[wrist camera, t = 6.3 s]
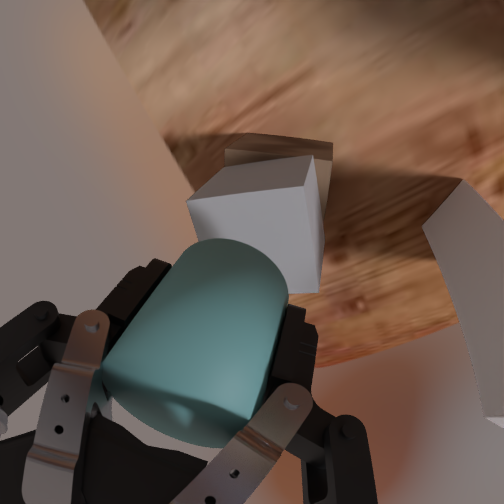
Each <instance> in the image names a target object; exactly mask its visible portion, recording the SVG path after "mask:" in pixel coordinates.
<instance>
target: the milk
mask: <svg viewBox="0 0 504 504" xmlns="http://www.w3.org/2000/svg"><path fill="white" fill-rule="evenodd" d="M422 229H423V231H424V233H425V235H426V238H427V240H428V242H429V244H430V247H431V249H432V251H433V253H434V256H435V258H436V260H437V263H438V265H439V268H440V270H441V273H442V275H443V278H444V280H445V283H446V285H447V288H448V291H449V293H450V296H451V299H452V302H453V304H454V307H455V310H456V313H457V316H458V319H459V322H460V325H461V328H462V331H463V335H464V338H465V341H466V344H467V348H468V352H469V355H470V359H471V362H472V366H473V370H474V374H475V378H476V382H477V387H478V391H479V395H480V400H481V405H482V410H483V415H484V417H485V418H486V419H488V420H490V421H491V422H493V423H495V424H497V425H499V426H500V427H502V428H504V220H503V219H502V218H501V217H500V216H499V215H498V214H497V212H496V211H495V210H494V209H493V208H492V207H491V206H490V205H489V204H488V203H487V202H486V201H485V200H484V199H483V198H482V197H481V196H480V194H479V193H478V192H477V191H476V190H475V189H474V188H473V187H472V186H471V185H470V184H469V183H467V182H466V181H465V180H464V179H463V180H462V181H461V182H460V184H459V185H458V186H457V187H456V188H455V190H454V191H453V192H452V193H451V194H450V195H449V196H448V198H447V199H446V200H445V201H444V202H443V203H442V204H441V205H440V207H439V208H438V209H437V210H436V211H435V212H434V213H433V214H432V215H431V217H430V218H429V219H428V220H427V221H426V222H425V223H424V224H423V225H422Z"/></svg>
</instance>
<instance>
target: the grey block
mask: <svg viewBox="0 0 504 504" xmlns="http://www.w3.org/2000/svg"><path fill="white" fill-rule="evenodd" d="M186 203H187V206H188V209H189V212H190V215H191V219H192V222H193V225H194V228H195V231H196V234H197V238H198V241H199V242H200V241H203V240H207V239H214V238H225V239H232V240H236V241H240V242H243V243H245V244H248V245H250V246H252V247H254V248H256V249H258V250H259V251H261V252H262V253H264V254H265V255H266V256H267V257H268V258H270V259H271V260H272V261H273V262H274V263H275V264H276V266H277V267H278V268H279V270H280V271H281V273H282V275H283V276H284V278H285V281H286V283H287V287H288V294H293V293H319V287H320V279H321V271H322V262H323V253H324V243H325V236H324V228H323V220H322V212H321V205H320V198H319V191H318V184H317V177H316V171H315V165H314V159H313V155H307V156H298V157H290V158H282V159H274V160H267V161H260V162H253V163H247V164H240V165H234V166H228V167H223V168H222V169H221V170H220V171H219V172H218V173H216V174H215V175H214V176H213V177H212V178H211V179H210V180H209V181H207V182H206V183H205V184H204V185H203V186H202V187H201V188H200V189H199V190H197V191H196V192H195V193H194V194H193V195H192V196H191V197H190V198H189V199H188V200H187V201H186Z"/></svg>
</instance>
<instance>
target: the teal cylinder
mask: <svg viewBox="0 0 504 504" xmlns="http://www.w3.org/2000/svg"><path fill="white" fill-rule="evenodd" d="M288 299H289V294H288V287H287V283H286V281H285V278H284V276H283V275H282V273H281V271H280V270H279V268H278V267H277V266H276V264H275V263H274V262H273V261H272V260H271V259H270V258H268V257H267V256H266V255H265V254H264V253H262V252H261V251H259V250H258V249H256V248H254V247H252V246H250V245H248V244H245V243H243V242H240V241H236V240H232V239H225V238H214V239H207V240H203V241H200V242H197V243H195V244H193V245H192V246H190V247H189V248H187V249H186V250H185V251H184V252H183V254H182V255H181V256H180V258H179V259H178V260H177V261H176V263H175V264H174V265H173V266H172V268H171V269H170V270H169V272H168V273H167V274H166V276H165V277H164V278H163V280H162V281H161V282H160V284H159V285H158V286H157V287H156V289H155V290H154V292H153V293H152V294H151V296H150V297H149V298H148V300H147V301H146V302H145V304H144V305H143V306H142V308H141V309H140V310H139V312H138V313H137V315H136V316H135V317H134V319H133V320H132V321H131V323H130V324H129V326H128V327H127V328H126V330H125V331H124V333H123V334H122V335H121V337H120V338H119V340H118V341H117V342H116V344H115V345H114V347H113V348H112V350H111V351H110V352H109V354H108V355H107V357H106V358H105V360H104V361H103V363H102V364H103V368H104V369H103V374H102V381H103V383H104V385H105V387H106V389H107V390H108V391H110V392H111V394H112V396H113V398H114V399H115V400H116V401H117V402H118V403H119V404H120V405H121V406H122V407H123V408H124V409H126V410H127V411H128V412H129V413H131V414H132V415H133V416H134V417H136V418H137V419H139V420H140V421H142V422H143V423H145V424H146V425H148V426H150V427H152V428H154V429H155V430H157V431H159V432H161V433H163V434H165V435H168V436H170V437H173V438H175V439H178V440H181V441H184V442H187V443H190V444H194V445H198V446H203V447H210V448H224V447H225V446H226V445H227V444H228V442H229V441H230V440H231V439H232V438H233V437H234V436H235V435H236V434H237V433H238V432H239V431H240V430H241V429H243V428H244V427H245V426H246V425H247V424H248V423H249V421H250V420H251V419H252V418H253V417H254V415H255V414H256V413H257V412H258V411H259V409H260V408H261V406H262V403H263V399H264V395H265V392H266V386H267V382H268V378H269V375H270V371H271V367H272V363H273V360H274V356H275V352H276V348H277V344H278V340H279V336H280V332H281V328H282V324H283V320H284V316H285V312H286V309H287V305H288Z"/></svg>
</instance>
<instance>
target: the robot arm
mask: <svg viewBox="0 0 504 504" xmlns="http://www.w3.org/2000/svg"><path fill="white" fill-rule="evenodd" d="M171 268H172V265H171V264H170V263H167V262H164V261H161V260H158V259H156V258H155V259H153V260H152V261H151V262H150V263H149V264H148V265H147V267H146V268H145V267H142V266H139V267H136V268H134V269H132V270H131V271H129V272H128V273H127V274H126V275H125V277H124V278H123V279H122V280H121V281H120V282H119V283H118V284H117V287H115V288H114V289H113V290H112V291H111V293H110V294H109V295H108V296H107V297H106V298H105V299H104V301H103V302H102V303H101V304H100V305H99V306H98V308H97V309H96V310H87V311H84V312H82V313H81V314H79V315H78V316H70V315H65V314H59V313H58V311H57V308H56V306H55V305H54V304H53V303H51V302H49V301H40V302H36V303H34V304H33V305H31V306H30V307H28V308H27V309H25V310H24V311H23V312H21V313H20V314H19V315H17V316H16V317H14V318H13V319H12V320H10V321H9V322H7V323H6V324H4V325H3V326H2V327H0V436H1V434H4V433H6V431H7V429H8V428H7V422H8V416H9V415H10V414H11V413H12V412H14V411H15V410H16V409H17V408H18V407H19V406H21V405H22V404H23V403H24V402H25V401H26V400H27V399H29V398H30V397H31V396H32V395H33V394H34V393H36V392H37V391H38V390H39V389H40V388H41V387H42V386H44V385H45V384H46V383H47V382H48V385H47V388H46V392H45V395H44V399H43V403H42V407H41V411H40V416H39V420H38V424H37V429H36V430H33V431H30V432H27V433H24V434H21V435H18V436H15V437H11V438H8V439H5V440H2V441H0V504H243V503H245V501H246V500H247V499H248V498H249V497H250V495H251V494H252V493H253V492H254V490H255V489H256V488H257V487H258V485H259V484H260V483H261V482H262V480H263V479H264V478H265V477H266V475H267V474H268V473H269V471H270V470H271V469H272V467H273V466H274V465H275V463H276V462H277V460H278V459H279V458H280V456H281V453H282V452H283V450H284V449H285V450H286V451H288V452H290V453H291V454H293V455H295V456H297V457H298V458H300V459H301V469H302V486H303V503H304V504H378V502H377V494H376V487H375V480H374V474H373V468H372V461H371V455H370V451H369V444H368V439H367V433H366V429H365V427H364V425H363V423H362V422H361V421H360V420H359V419H357V418H356V417H354V416H351V415H340V416H338V417H335V416H333V415H331V414H329V413H328V412H326V411H324V410H323V409H321V408H320V407H319V406H318V405H317V404H316V403H315V401H314V400H313V398H312V394H311V385H312V378H313V372H314V365H315V358H316V357H315V356H316V350H317V349H316V348H317V343H318V334H317V331H316V328H315V325H312V324H309V323H305V322H304V320H305V314H306V309H304V308H301V307H298V306H295V305H291V304H288V306H287V309H286V312H285V316H284V320H283V324H282V328H281V332H280V336H279V340H278V344H277V348H276V352H275V356H274V360H273V363H272V367H271V371H270V375H269V378H268V382H267V386H266V392H265V395H264V399H263V403H262V406H261V408H260V409H259V411H258V412H257V413H256V414H255V415H254V417H253V418H252V419H251V420H250V421H249V423H248V424H247V425H246V426H245V427H244V428H243V429H241V430H240V431H239V432H238V433H237V434H236V435H235V436H234V437H233V438H232V439H231V440H230V441H229V442H228V444H227V445H226V446H225V447H224V448H223V449H222V450H221V451H220V452H219V454H218V455H217V456H216V457H215V458H214V459H213V460H212V461H211V462H210V463H209V464H208V465H207V463H208V461H205V460H202V459H199V458H196V457H194V456H191V455H188V454H186V453H183V452H180V451H176V450H169V449H163V448H158V447H152V446H148V445H146V444H144V443H143V442H141V441H140V440H139V439H138V438H136V437H135V436H134V435H132V434H131V433H130V432H129V431H128V430H126V429H125V428H124V427H123V426H121V425H119V424H117V423H115V422H113V421H112V411H111V410H112V407H111V406H112V398H113V396H112V394H111V392H110V391H108V390H107V389H106V387H105V385H104V383H103V381H102V374H103V369H104V368H103V364H102V363H103V361H104V360H105V358H106V357H107V355H108V354H109V352H110V351H111V350H112V348H113V347H114V345H115V344H116V342H117V341H118V340H119V338H120V337H121V335H122V334H123V333H124V331H125V330H126V328H127V327H128V326H129V324H130V323H131V321H132V320H133V319H134V317H135V316H136V315H137V313H138V312H139V310H140V309H141V308H142V306H143V305H144V304H145V302H146V301H147V300H148V298H149V297H150V296H151V294H152V293H153V292H154V290H155V289H156V287H157V286H158V285H159V284H160V282H161V281H162V280H163V278H164V277H165V276H166V274H167V273H168V272H169V270H170V269H171ZM37 346H38V347H37ZM35 347H37V348H36V349H34V348H35ZM33 349H34V350H33ZM31 350H33V351H32V352H30V351H31ZM29 352H30V353H29ZM28 353H29V354H28ZM26 354H28V355H27V356H25V355H26ZM24 356H25V357H24ZM23 357H24V358H23ZM21 358H23V359H22V360H20V359H21ZM19 360H20V361H19ZM18 361H19V362H18ZM206 465H207V466H206Z"/></svg>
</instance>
